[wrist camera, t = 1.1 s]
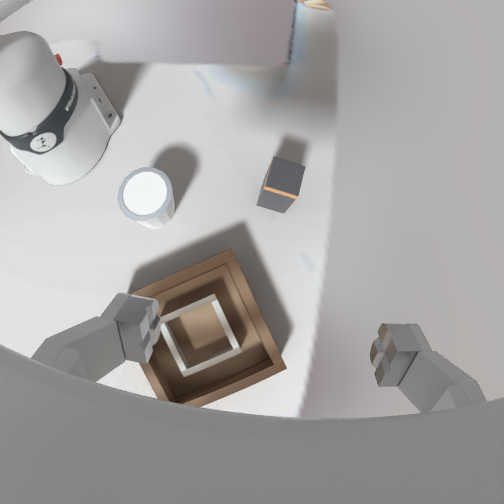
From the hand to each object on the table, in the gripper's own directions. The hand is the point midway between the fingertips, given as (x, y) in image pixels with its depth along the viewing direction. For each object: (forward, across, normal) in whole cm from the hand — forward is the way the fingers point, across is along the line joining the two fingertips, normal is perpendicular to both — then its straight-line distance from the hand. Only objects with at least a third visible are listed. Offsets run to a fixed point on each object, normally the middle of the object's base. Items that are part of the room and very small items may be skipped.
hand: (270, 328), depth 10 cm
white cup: (+30, +16, +7) cm, 34 cm away
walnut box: (+22, +7, +20) cm, 31 cm away
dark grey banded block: (+34, 0, +4) cm, 34 cm away
